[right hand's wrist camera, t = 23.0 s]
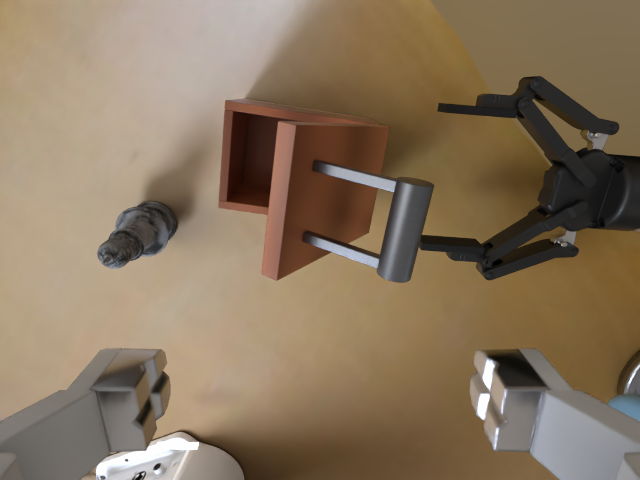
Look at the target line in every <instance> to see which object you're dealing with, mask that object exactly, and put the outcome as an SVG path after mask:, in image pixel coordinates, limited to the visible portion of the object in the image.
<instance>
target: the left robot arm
mask: <svg viewBox="0 0 640 480" xmlns="http://www.w3.org/2000/svg"><path fill="white" fill-rule="evenodd" d="M533 99H535V100H536V101H537V102H539V103H540V104H542V105H543V106H544V107H546V108H547V109H549V110H550V111H551V112H553V113H554V114H556V115H557V116H558V117H560V118H561V119H563V120H564V121H565V122H567V123H568V124H570V125H571V126H573V127H575V128H577V129H580V130H582V131H581V133H580V134H581V135H582V138H583V139H585V140H586V141H587V142H588V146H587V147H586V148H583V149H581V150H579V151H577V152H576V153H575V152H574V151H573V150H572V149H571V148H569V147H568V146H567V144H566V143H565V142H564V141H563V139H562V138H561V137H560V135H559V134H558V133H557V132H556V130H555V129H554V128H553V126H552V125H551V124H550V123H549V121H548V120H547V119H546V118H545V116H544V115H543V114H542V112H541V111H540V110H539V109H538V107H537V106H536V105H535V103H534V102H533V101H532V100H533ZM438 111H439V112H445V113H457V114H470V115H482V116H494V117H506V118H517V119H518V120H519V121H520V123H521V124H522V125H523V126H524V128H525V129H526V130H527V131H528V133H529V134H530V135H531V136H532V137H533V139H534V140H535V141H536V142H537V144H538V145H539V146H540V147H541V149H542V150H543V151H544V154H545V156H546V157H547V159H548V160H549V161H550V162H551V164H552V165H553V166H551V168H550V169H549V170H548V171H545V175H544V186H543V188H542V190H541V191H540V193H539V197H538V201H540V205H539V206H538V207H536V208H535V209H533V210H531V211H530V212H529V213H528V215H527V216H526V217H524V218H523V219H521V220H519V221H518V222H516V223H515V224H513V225H511V226H510V227H508V228H506V229H505V230H503V231H502V232H500V233H498V234H497V235H495V236H493V237H492V238H490V239H489V240H487V241H485V242H484V243H482V244H480V243H479V242H478V241H477V240H476V239H470V238H457V237H443V236H429V235H422V236H421V240H420V244H419V247H420V249H421V250H426V251H440V252H446V254H447V256H448V257H449V258H450V259H452V260H454V261H468V262H477V265H476V268H477V270H478V271H479V272H480V273H481V274H482V275H483V277H484V278H485V279H487V280H493V279H496V278H499V277H501V276H504V275H507V274H510V273H513V272H516V271H519V270H522V269H525V268H527V267H530V266H533V265H536V264H539V263H542V262H545V261H548V260H551V259H553V258H560V257H575V256H576V255H577V254H578V252H579V249H578V248H577V247H576V246H574V242H575V237H576V232H577V231H579V230H581V229H585V228H593V229H606V230H619V231H635V232H640V157H637V156H625V155H612V154H606V153H605V152H604V151H602V150H603V148H604V145H605V143H606V141H607V138H608V136H609V135H613V134H615V133H617V131H618V130H619V124H618V123H617V122H613V121H609V120H604V119H599V118H597V117H596V116H595V115H593V114H592V113H591V112H589V111H588V110H586V109H585V108H584V107H582V106H581V105H580V104H578V103H577V102H575V101H574V100H573V99H571V98H570V97H569V96H567V95H566V94H565V93H563V92H562V91H560V90H559V89H558V88H556V87H555V86H554V85H552V84H551V83H549V82H548V81H547V80H545V79H544V78H543V77H540V76H535V77H524V78H522V79H521V80H520V82H519V87H518V89H517V91H516V92H515V93H514V94H512V95H510V96H509V95H497V94H481V95H478V96H477V101H476V106H468V105H456V104H443V103H439V105H438ZM547 215H549V216H548V217H546V216H547ZM558 226H560V227H562V230H561V232H560V233H558V234H555V235H551V236H550V239H544V240H540V241H537V242H534V243H531V244H528V245H525V246H523V247H520V248H517V247H519V246H521V245H522V244H524V243H526V242H527V241H529V240H531V239H532V238H534V237H536V236H538V235H539V234H541V233H543V232H545V231H551V230H553V229H555V228H556V227H558ZM516 248H517V249H516ZM617 392H618V396H615V397H613V398H612V399H610V400H609V401H608V403H607V405H609V406H611V407H613V408H615V409H617V410H619V411H621V412H623V413H624V414H626V415H628V416H630V417H632V418H634V419H636V420H638V421H640V351H639V352H638V353H636V354H635V355H634V356H633V357H632V358H631V359H630V361H629V362H628V363H627V365H626V366H625V367H624V369H623V371H622V373H621V375H620V378H619V381H618V388H617Z"/></svg>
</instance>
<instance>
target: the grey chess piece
mask: <svg viewBox="0 0 640 480" xmlns="http://www.w3.org/2000/svg"><path fill="white" fill-rule="evenodd" d="M175 231H176V220H175V217H174V215H173V213H172V212H171V210H170V209H168V208H167V207H166V206H165V205H163V204H161V203H158V202H152V201H148V202H144V203H142V204H140V205H138V206H137V207H133V208H129V209H127V210H125V211H123V212H122V213H121V214H120V215H119V217H118V219H117V221H116V226H115V231H113V232H112V233H111V234H110V236H109V240H107V241H106V242H104V243H103V244H102V245H101V246H100V247H99V249H98V253H97V254H98V258H99V260H100V262H101V263H102V264H103V265H104V266H106V267H108V268H112V269H117V268H121V267H123V266H125V265H126V264H127V263H128V262H129V261H132V260H136V259H138V258H139V257H140V256H144V257H149V256H153V255H156V254H158V253H160V252H161V251H162V250H163V249H164V248H165V246H166V244H167V242H168V240H169V239H170V238H171V237H172V236H173V235H174V233H175Z"/></svg>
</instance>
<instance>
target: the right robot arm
mask: <svg viewBox="0 0 640 480" xmlns="http://www.w3.org/2000/svg"><path fill="white" fill-rule="evenodd" d="M166 364H167V360H166V355H165V352H164V351H163V350H162V349H122V348H106V349H103V350H100V351H99V353H98V354H97V355H96V356H95V357H94V358H93V360H92V361H91V362H90V363H89V364H88V365H87V367H86V368H85V369H84V370H83V371H82V372H81V374H80V375H79V376H78V377H77V378H76V379H75V381H74V382H73V383H72V384H71V385H70V386H69V388H68V389H67V390H60V391H58V392H56V393H54V394H52V395H50V396H48V397H46V398H44V399H42V400H40V401H38V402H36V403H35V404H33V405H31V406H29V407H27V408H25V409H23V410H21V411H19V412H17V413H15V414H13V415H12V416H10V417H8V418H6V419H4V420H2V421H0V480H81V479H82V478H83V477H84V476H85V475H86V474H88V473H89V472H90V471H91V470H92V469H93V468H95V467H96V466H97V465H98V466H97V470H96V478H97V480H244V475H243V471H242V469H241V467H240V465H239V464H238V463H237V461H236V460H235V459H234V458H233V457H232V456H230V455H229V454H228V453H226V452H225V451H223V450H221V449H219V448H216V447H214V446H211V445H208V444H204V443H201V442H199V441H197V440H196V439H194V438H193V437H191V436H190V435H188V434H186V433H184V432H176V433H174V434H171V435H168V436H165V437H162V438H159V439H157V440H154V441H151V440H152V438H153V436H154V434H155V432H156V430H157V426H156V420H157V419H159V418H160V417H161V416H163V415H164V413H165V411H166V409H167V407H168V403H169V398H170V378H169V376H168V375H167V374H166V373H165V372H164V371H163V369H164V368H165V366H166ZM473 364H474V366H475V368H476V369H477V371H476V372H475V373H474V374H473V375H472V376H471V378H470V387H469V390H470V399H471V403H472V406H473V409H474V411H475V413H476V415H477V416H479V417H480V418H481V419H483V420H484V426H483V430H484V432H485V434H486V436H487V438H488V440H489V442H490V444H491V446H492V448H493V450H494V451H507V452H530V454H531V455H532V456H533V457H534V458H535V459H536V460H537V461H539V462H540V463H541V464H542V465H543V466H544V467H546V468H547V469H548V470H549V471H550V472H551V473H553V474H554V475H555V476H556V477H557V478H558V479H559V480H640V421H638V420H636V419H634V418H632V417H630V416H628V415H626V414H624V413H623V412H621V411H619V410H617V409H615V408H613V407H611V406H609V405H607V404H605V403H603V402H602V401H600V400H598V399H596V398H594V397H592V396H590V395H588V394H586V393H584V392H582V391H580V390H573V389H572V388H571V386H570V385H569V384H568V383H567V382H566V381H565V379H564V378H563V377H562V376H561V375H560V374H559V372H558V371H557V370H556V369H555V368H554V367H553V365H552V364H551V363H550V362H549V361H548V360H547V358H546V357H545V356H544V355H543V354H542V353H541V351H539V350H538V349H536V348H525V349H499V350H476V352H475V354H474V360H473ZM110 452H120V453H117V454H114V455H111V456H109V455H110ZM107 456H109V457H107Z"/></svg>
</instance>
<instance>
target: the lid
mask: <svg viewBox="0 0 640 480" xmlns="http://www.w3.org/2000/svg"><path fill="white" fill-rule="evenodd" d="M389 131H390V127H388V126H383V125H377V124H349V123H320V122H291V121H278V127H277V136H276V145H275V155H274V164H273V173H272V182H271V191H270V200H269V209H268V219H267V228H266V237H265V246H264V255H263V264H262V273H261V274H262V275H265V276H267V277H269V278H272V279H274V280H279V279H281V278H283V277H285V276H287V275H289V274H291V273H293V272H294V271H296V270H298V269H300V268H302V267H304V266H306V265H308V264H310V263H312V262H314V261H316V260H317V259H319V258H321V257H323V256H325V255H327V254H329V253H331V252H333V253H335V254H338V255H341V256H344V257H347V258H349V259H352V260H355V261H358V262H361V263H363V264H366V265H369V266H372V267H374V268H377V273H378V275H379V276H381V277H382V278H384V279H386V280H389V281H393V282H408V281H409V280H410V279H411V275H412V272H413V268H414V264H415V260H416V256H417V252H418V248H419V244H420V240H421V236H422V232H423V228H424V224H425V220H426V216H427V212H428V208H429V204H430V200H431V196H432V192H433V188H434V185H433V184H432V183H430V182H427V181H424V180H420V179H415V178H408V177H399V178H397V179H395V178H391V177H387V176H383V175H381V170H382V165H383V160H384V155H385V150H386V145H387V140H388V135H389ZM378 188H379V189H383V190H386V191H390V192H394V194H393V198H392V203H391V207H390V212H389V217H388V221H387V226H386V230H385V235H384V239H383V244H382V249H381V253H380V255H379V254H376V253H373V252H370V251H367V250H364V249H361V248H359V247H356V246H353V245H350V244H348V243H350V242H352V241H354V240H356V239H358V238H360V237H362V236H363V235H365V234H367V233H369V229H370V224H371V219H372V214H373V209H374V204H375V199H376V195H377V190H378Z"/></svg>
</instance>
